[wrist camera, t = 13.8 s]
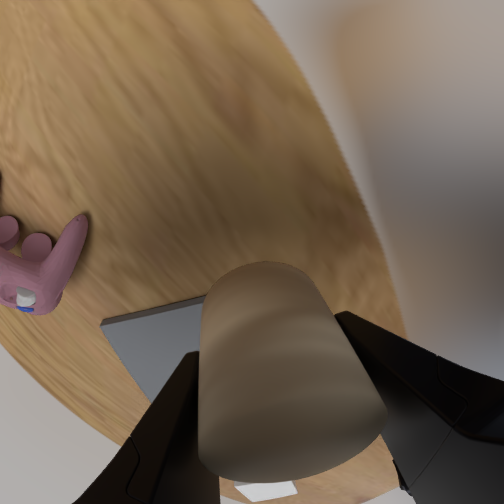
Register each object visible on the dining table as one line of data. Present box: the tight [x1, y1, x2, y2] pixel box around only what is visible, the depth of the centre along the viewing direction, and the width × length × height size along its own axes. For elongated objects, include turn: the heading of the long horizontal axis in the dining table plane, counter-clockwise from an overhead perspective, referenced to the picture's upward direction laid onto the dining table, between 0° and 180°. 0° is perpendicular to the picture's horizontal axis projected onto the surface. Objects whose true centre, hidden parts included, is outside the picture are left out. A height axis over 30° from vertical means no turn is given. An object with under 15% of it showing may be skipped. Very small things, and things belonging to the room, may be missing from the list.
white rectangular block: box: [234, 480, 298, 502], centre depth 27 cm, size 6×8×5 cm
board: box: [100, 296, 206, 403], centre depth 22 cm, size 13×17×1 cm
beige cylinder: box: [198, 262, 388, 483], centre depth 7 cm, size 4×4×5 cm
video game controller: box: [0, 214, 88, 315], centre depth 13 cm, size 10×5×7 cm, turn 62°
